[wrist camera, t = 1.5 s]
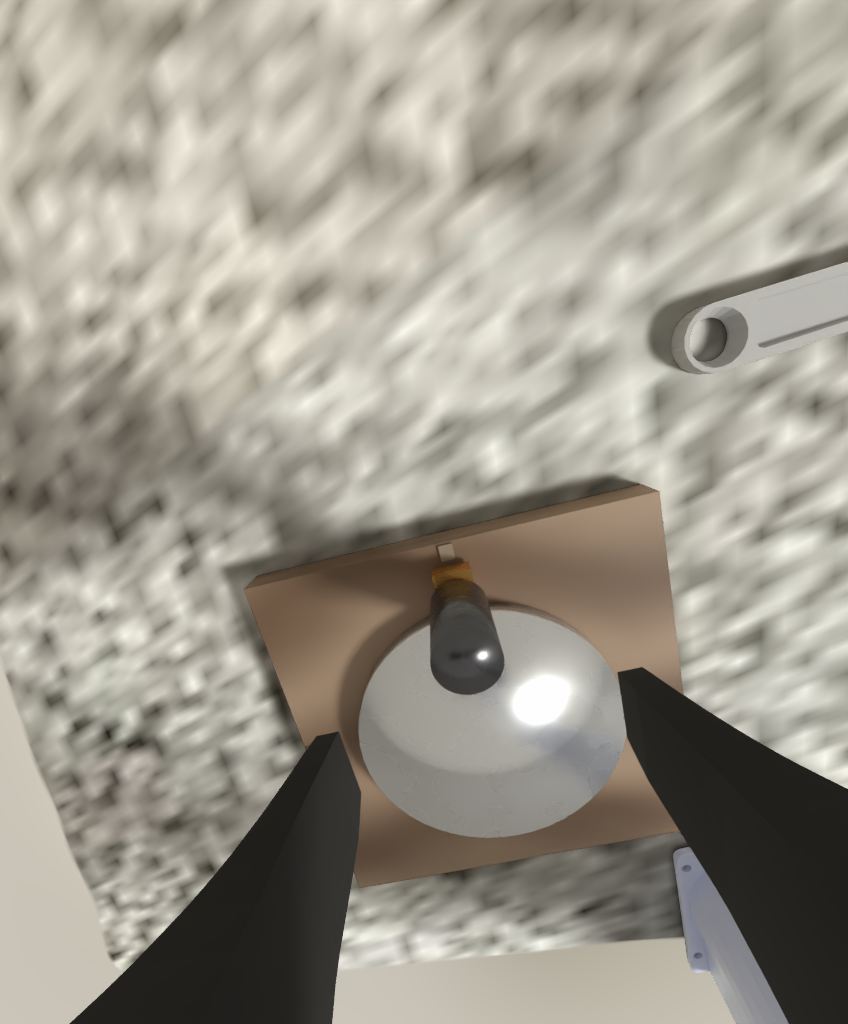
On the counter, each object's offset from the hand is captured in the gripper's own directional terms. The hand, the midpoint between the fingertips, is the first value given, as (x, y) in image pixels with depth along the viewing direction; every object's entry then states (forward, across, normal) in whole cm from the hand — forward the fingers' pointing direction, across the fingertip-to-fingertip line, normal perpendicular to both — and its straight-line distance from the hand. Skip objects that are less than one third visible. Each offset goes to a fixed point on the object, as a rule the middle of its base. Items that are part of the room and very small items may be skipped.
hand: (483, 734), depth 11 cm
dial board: (+10, 0, +7) cm, 12 cm away
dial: (+8, 0, +7) cm, 10 cm away
